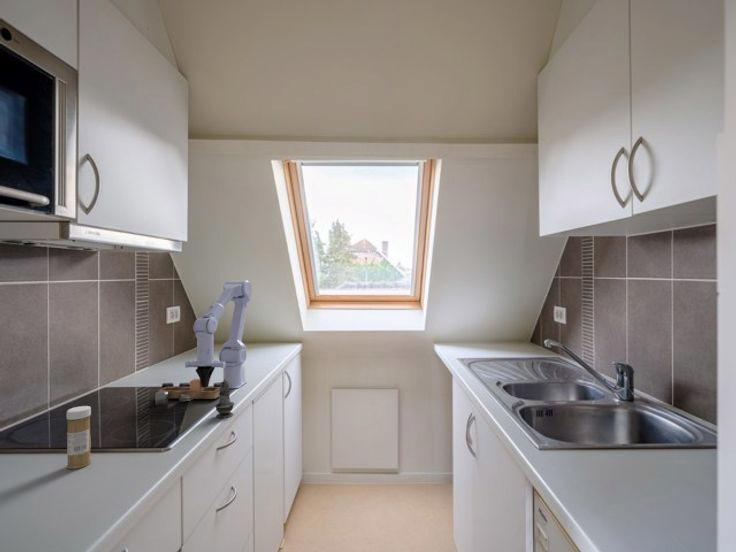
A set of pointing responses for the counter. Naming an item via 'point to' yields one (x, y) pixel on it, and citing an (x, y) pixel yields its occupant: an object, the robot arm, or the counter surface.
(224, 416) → the dark grey turned ornament
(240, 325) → the robot arm
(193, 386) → the orange block
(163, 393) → the weight
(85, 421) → the sprinkles bottle
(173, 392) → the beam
